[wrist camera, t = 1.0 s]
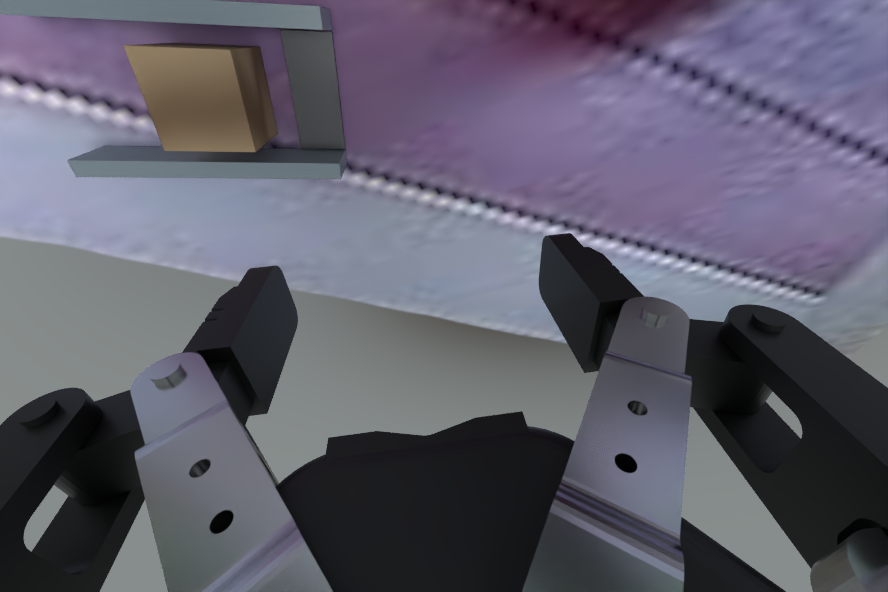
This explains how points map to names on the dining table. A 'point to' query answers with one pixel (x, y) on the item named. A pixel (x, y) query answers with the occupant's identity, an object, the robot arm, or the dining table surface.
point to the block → (205, 95)
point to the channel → (316, 160)
